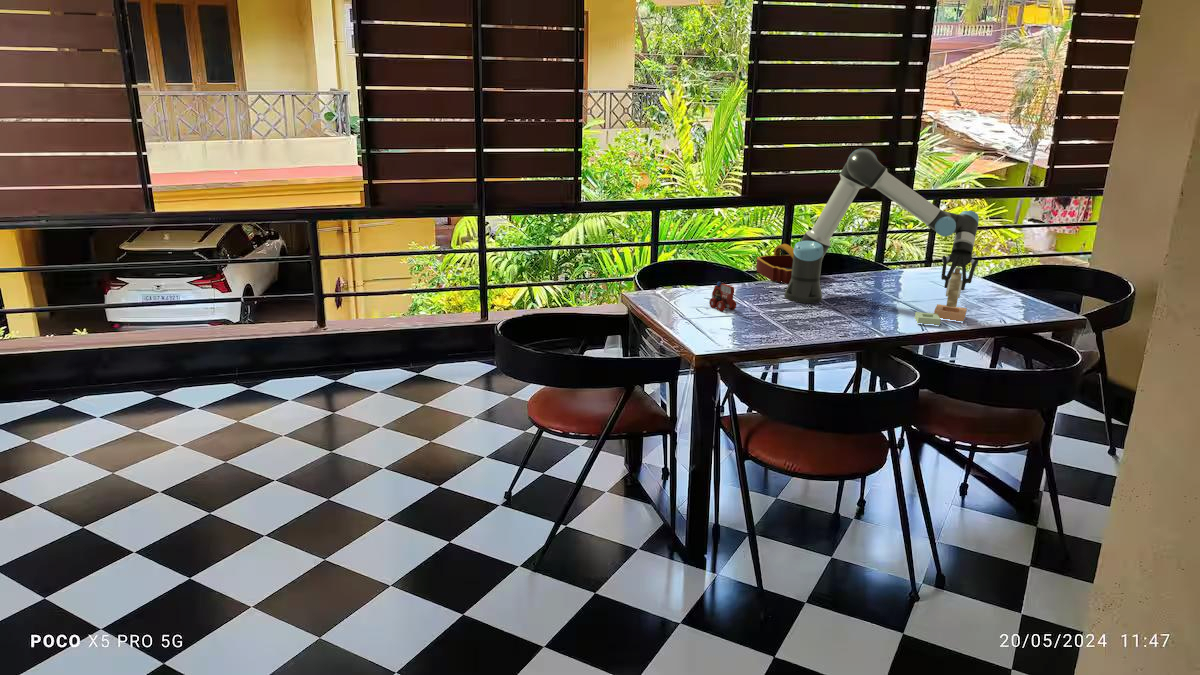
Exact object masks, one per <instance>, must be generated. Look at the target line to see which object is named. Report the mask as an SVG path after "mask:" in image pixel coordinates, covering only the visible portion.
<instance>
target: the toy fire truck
mask: <svg viewBox="0 0 1200 675" xmlns="http://www.w3.org/2000/svg"><path fill="white" fill-rule="evenodd" d="M734 294H735V288H734V286H732V285H729V284H727V283H722V282H721V281H717V283H716V285H714V288H713V290H712V293H711V298H709V306H710V308H712V309H717V311H718V312H724V311H725V309H729V310H730V311H735V310H736V308H737V302H736V300H735V299H734Z"/></svg>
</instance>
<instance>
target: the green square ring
mask: <svg viewBox="0 0 1200 675" xmlns="http://www.w3.org/2000/svg"><path fill="white" fill-rule="evenodd" d="M914 319H916V321H917V323H923V324H934V325H941V321H942V320H941V319H940V317H939V316H938V314H934V312H933V313H932V312H931V313H930V312H921V311H915V313H914ZM916 321H915V322H916ZM917 323H916V324H917Z"/></svg>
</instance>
